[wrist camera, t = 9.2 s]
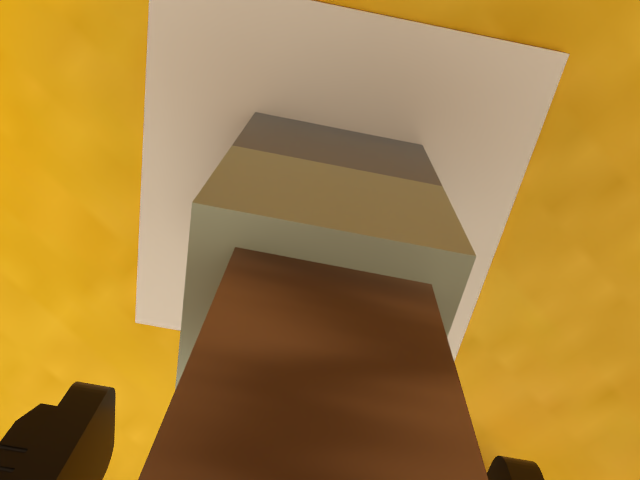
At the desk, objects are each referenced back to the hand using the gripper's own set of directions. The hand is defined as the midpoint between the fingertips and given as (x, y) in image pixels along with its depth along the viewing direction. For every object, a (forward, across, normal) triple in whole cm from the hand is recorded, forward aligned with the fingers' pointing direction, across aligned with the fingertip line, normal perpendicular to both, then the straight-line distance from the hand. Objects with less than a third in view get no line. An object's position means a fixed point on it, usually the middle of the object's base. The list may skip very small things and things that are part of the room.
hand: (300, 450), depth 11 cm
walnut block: (+4, 0, 0) cm, 4 cm away
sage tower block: (+9, 0, 0) cm, 9 cm away
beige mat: (+14, 0, 0) cm, 14 cm away
